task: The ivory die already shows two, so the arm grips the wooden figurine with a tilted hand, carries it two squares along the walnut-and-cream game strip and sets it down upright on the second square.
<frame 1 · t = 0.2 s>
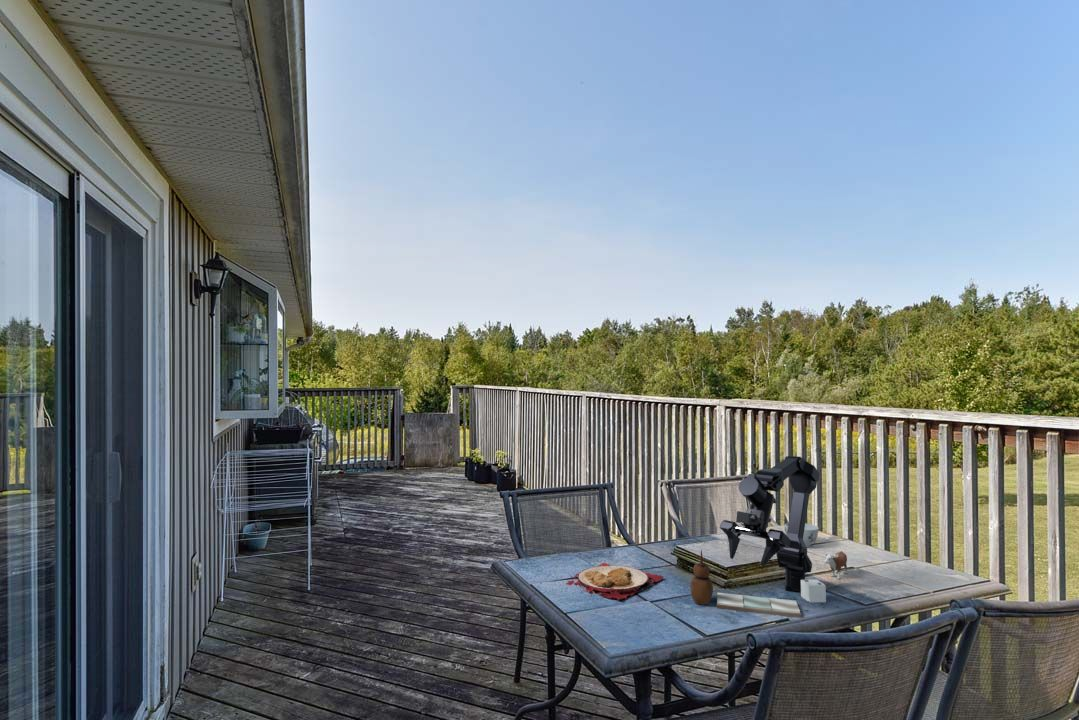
hand: (746, 562, 160), 15 cm above the table, tool tilted 35°, fingers open, 9 cm apart
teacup: (799, 545, 229), on the table
board: (756, 606, 166), on the table
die: (813, 599, 171), on the table
wooden figurine: (701, 603, 169), on the table
plate with food: (610, 584, 187), on the table
bull figurine: (837, 576, 192), on the table
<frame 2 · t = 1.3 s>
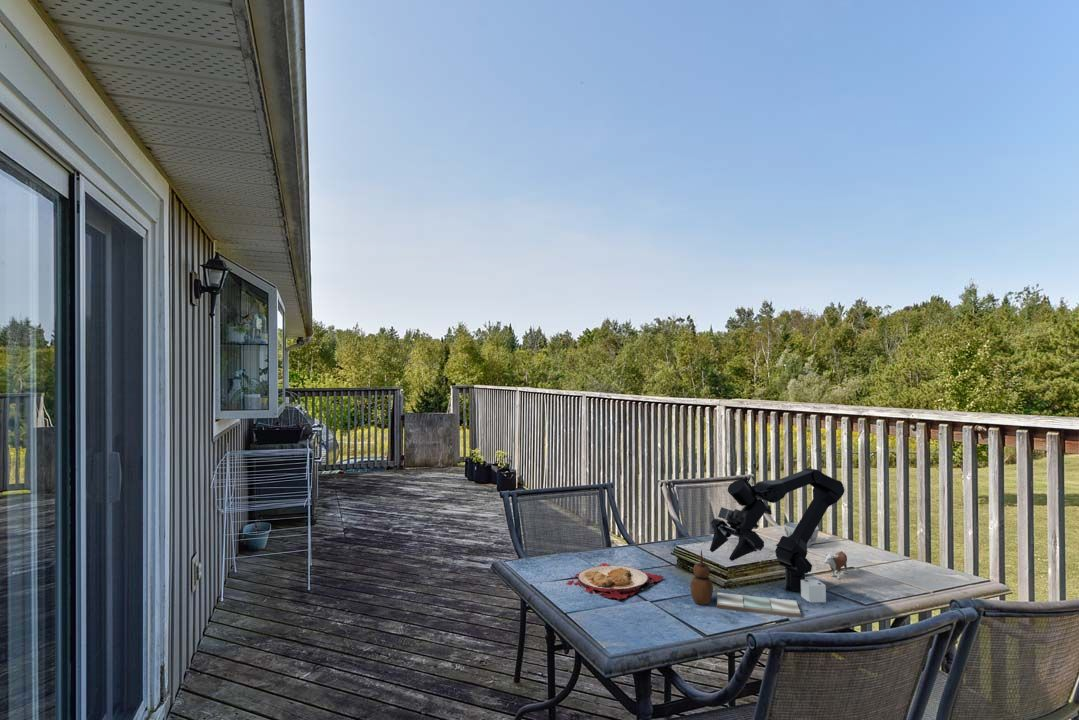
hand: (720, 555, 171), 13 cm above the table, tool tilted 45°, fingers open, 9 cm apart
nothing on the table moved.
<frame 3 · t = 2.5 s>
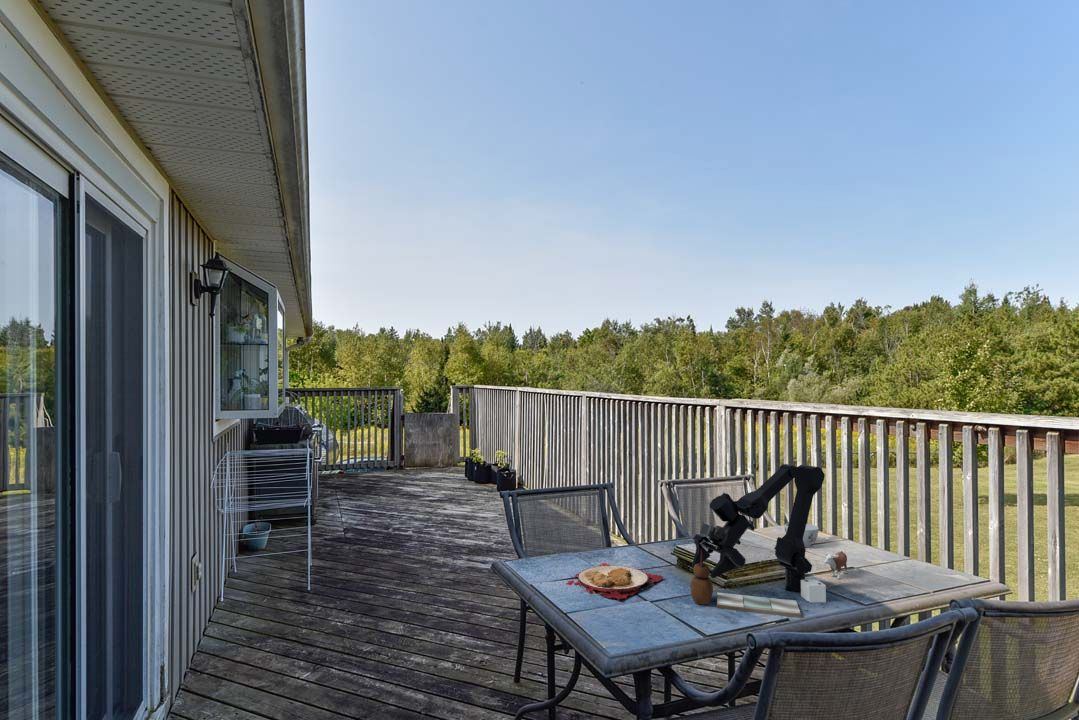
hand: (701, 572, 169), 9 cm above the table, tool tilted 45°, fingers open, 9 cm apart
nothing on the table moved.
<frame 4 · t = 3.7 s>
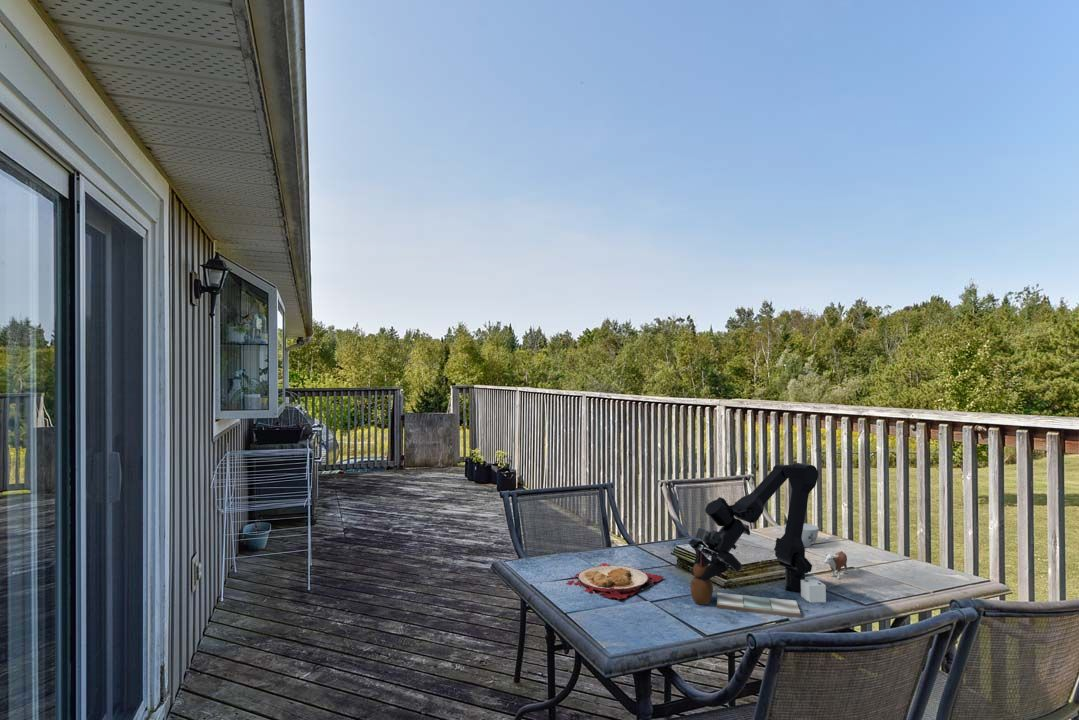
hand: (697, 577, 168), 8 cm above the table, tool tilted 45°, fingers closed on wooden figurine, 5 cm apart
wooden figurine: (701, 603, 169), on the table, touching gripper
everything else where it was.
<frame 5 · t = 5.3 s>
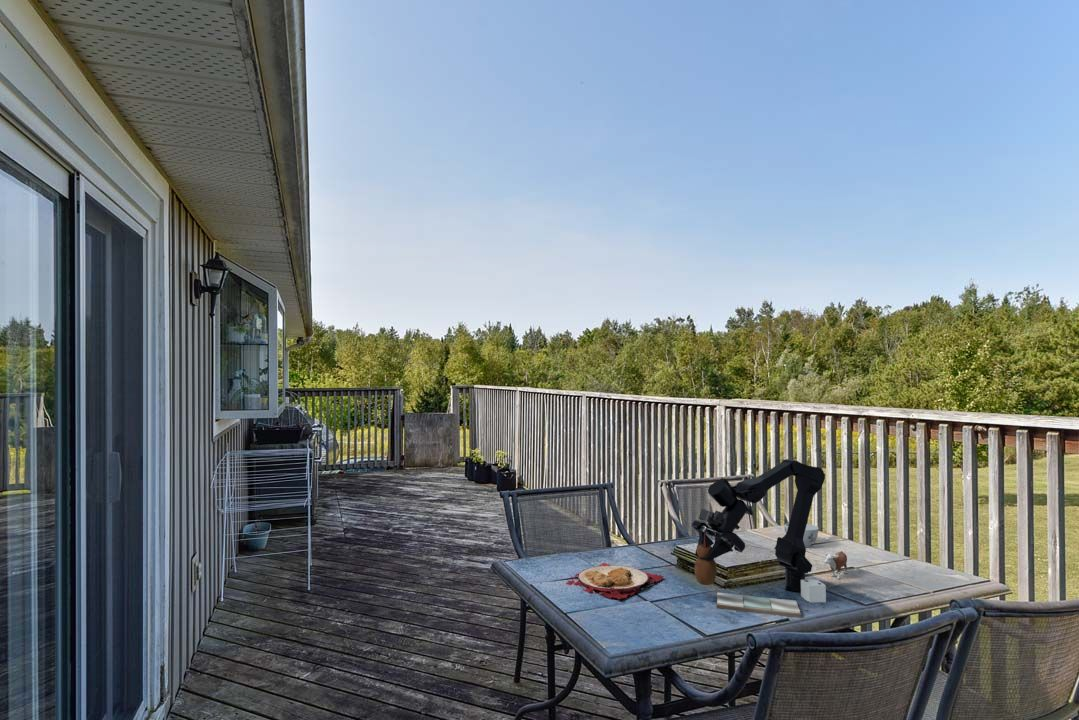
hand: (701, 558, 168), 13 cm above the table, tool tilted 45°, fingers closed on wooden figurine, 5 cm apart
wooden figurine: (705, 584, 169), point 6 cm above the table, touching gripper
everything else where it was.
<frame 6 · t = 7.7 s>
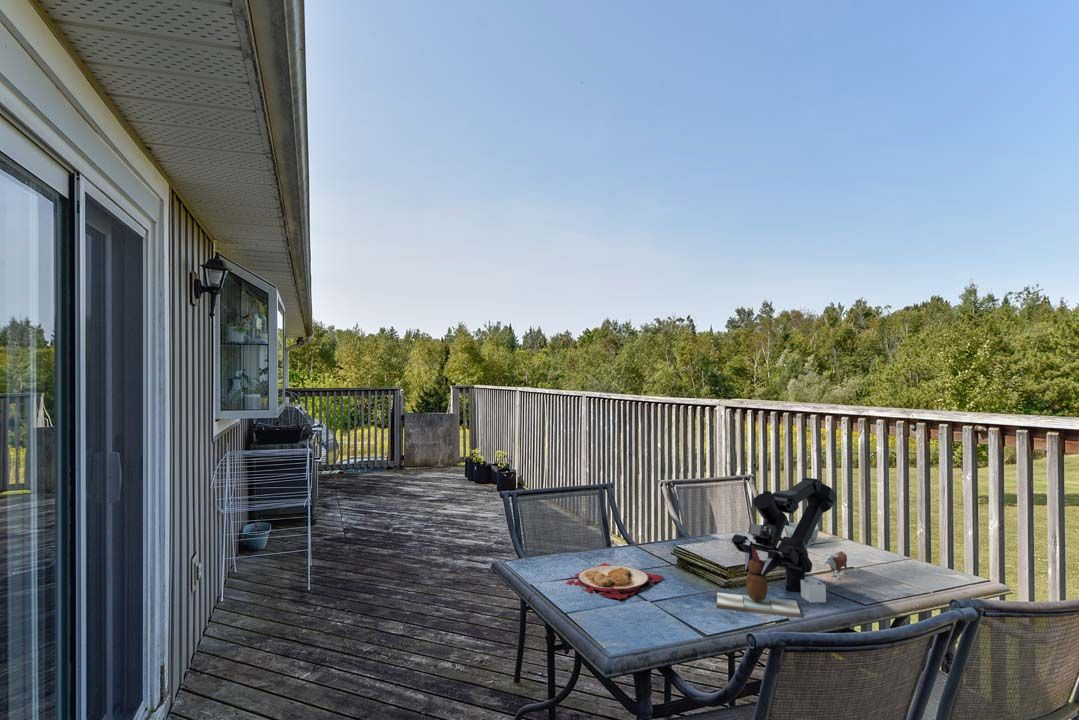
hand: (754, 573, 166), 10 cm above the table, tool tilted 45°, fingers closed on wooden figurine, 5 cm apart
wooden figurine: (757, 599, 166), point 2 cm above the table, touching gripper
everything else where it was.
when the fingers open (10 cm above the table, at t = 7.8 s): wooden figurine stays where it is, resting on board.
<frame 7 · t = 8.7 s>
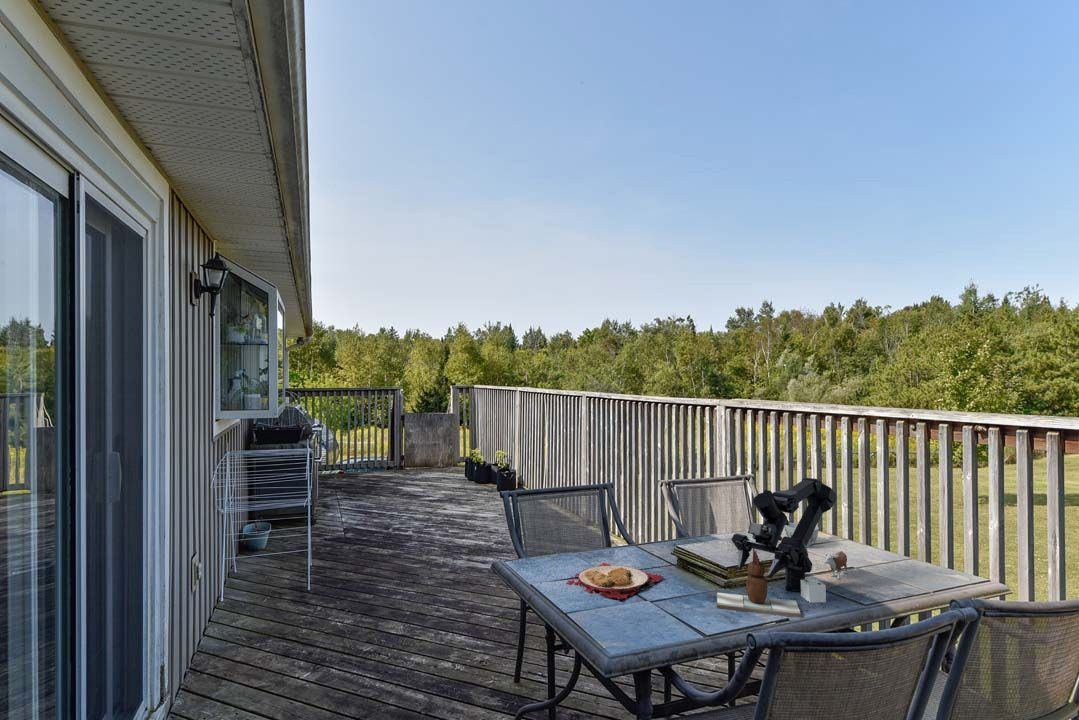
hand: (753, 572, 165), 10 cm above the table, tool tilted 45°, fingers open, 9 cm apart
wooden figurine: (756, 602, 166), point 1 cm above the table, touching board
everything else where it was.
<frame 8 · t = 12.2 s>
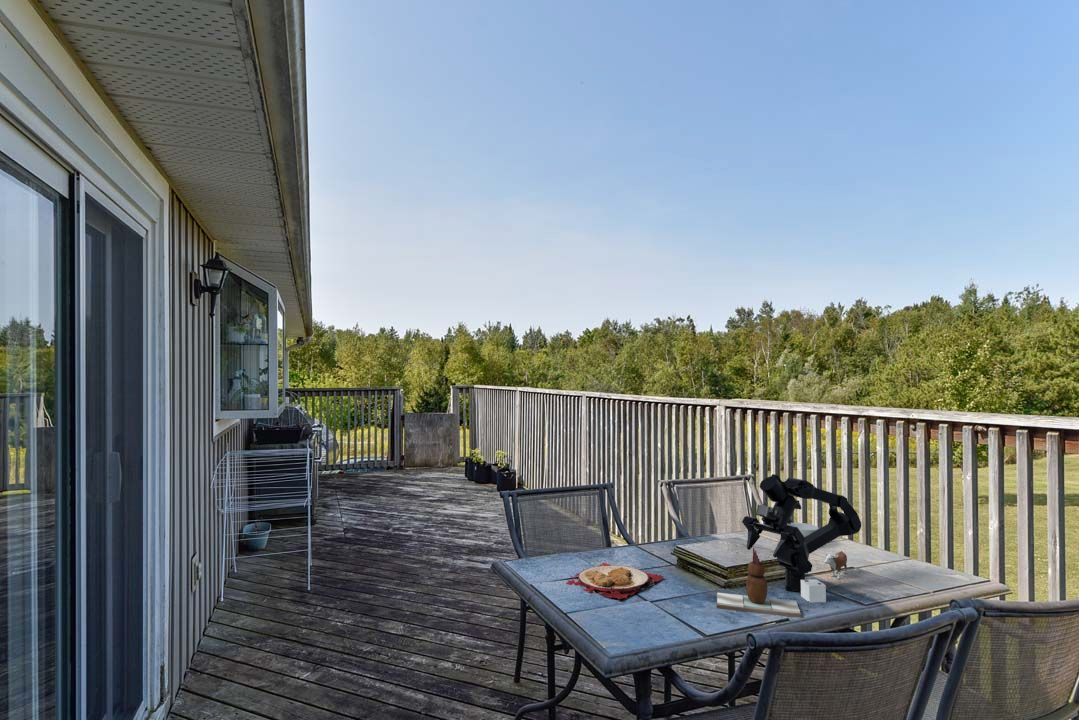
hand: (760, 552, 173), 14 cm above the table, tool tilted 45°, fingers open, 9 cm apart
nothing on the table moved.
at the end: wooden figurine 0.2 cm off-centre on the board, point 1.1 cm above the board's base; wooden figurine tilted 0°; the gripper is holding nothing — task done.
